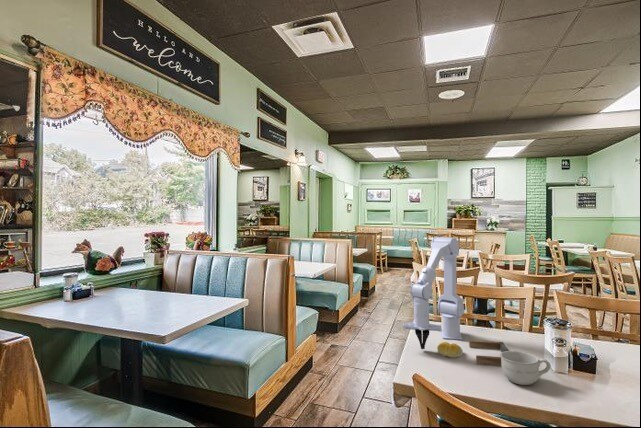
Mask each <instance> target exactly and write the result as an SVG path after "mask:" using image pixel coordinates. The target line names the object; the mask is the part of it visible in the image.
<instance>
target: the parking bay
mask: <svg viewBox="0 0 641 428" xmlns="http://www.w3.org/2000/svg"><path fill="white" fill-rule="evenodd" d="M468 346H469V348H470V349H471V348H472V349H485V350H500V352H501V353H502V352H505V351H510V349H508V348H507V346H506V344H505V343H504V341H494V340H493V341H491V340H477V339H476V340H474V339H473V340H472V339H469V340H468ZM475 359H476V360H475V361H476V364H477V365H483V366H484V365H487V366H500V367H502V365H501V356H490V355H477V354H476V355H475Z"/></svg>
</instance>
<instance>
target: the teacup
mask: <svg viewBox="0 0 641 428" xmlns="http://www.w3.org/2000/svg"><path fill="white" fill-rule="evenodd" d="M500 357H501V365H502V366H501V371H502V373H503V375H504V377H506V379H508V380H509V381H510V382H511V383H514V384H518V385H521V386H530V385H532V384H534V383H536V382H537V381H538V380H539V378H540V377H541V376H542V375H544V374H547V373H548V372H549V371H550V370H551V363H550V361H548V359H545V358H539V357H537V356H536V355H534V354H532V353H528V352H525V351H520V350H519V351H518V350H509V351H505V352H501V353H500ZM542 363H545V364H546V366H545V368H544V369H541V370H540V366H541V364H542Z"/></svg>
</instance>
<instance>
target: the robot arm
mask: <svg viewBox="0 0 641 428" xmlns="http://www.w3.org/2000/svg"><path fill="white" fill-rule="evenodd" d="M430 249H431V252H430V255H429V258H428V261H427V263H426V266H425V267H423V268H422V269H421V272H420V273H419V276H418V278H417V280H416V282H415V283H413V284H412V285H411V287H410V290H409V292H410V296H411V301H412V302H413V316H414V317H413V318H414V320H413V321H414V322H411V323H410V322H409V323H408V322H407V323H404V322H403V323H402V329H403V331H407V330H412V331H413V330H414V331H415V332H414V333H415V335H416V337H417V340H418V341H419V345H420V349H421V350H425V347H426V343H427V340H428V338H429V336H430V332H431V331H432V332H433V331H435V332H440V333H441V336H442V339H443V340H463V337H462V333H461V317H462V316H463V315H464V313H465V305H464V299H463V298H462V297H461V296H460V295H458V294H457V262H458V261H457V257H458V256H459V253H460V241H458V239H457V238H456V237H448V236H446V237H445V236H434V237H432V239H431V243H430ZM442 258H443V293H442V294H441V295H440V296H439V297H438V302H437V310H438V312H439V314H440V316H441V317H442V318H441V320H442V323H441V324H442V325H441V324H433V323H430V303H429V299H431V296H432V295H433V294H432V293H433V283H434V281H435V279H436V276H437V273H436V269H437V267H438V265H439V264H440V262H441V260H442Z"/></svg>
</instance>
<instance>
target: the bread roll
mask: <svg viewBox="0 0 641 428" xmlns="http://www.w3.org/2000/svg"><path fill="white" fill-rule="evenodd" d="M436 349H437V353H438V354H440V355H441V356H443V357H448V358H454V359H456V358H460V357H461V356H462V355H463V349H462V347H461V346H459V345H458V344H457V343H449V342H447V341H445V342H444V341H443V342H441V343H439V344H438V345H437V347H436Z"/></svg>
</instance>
